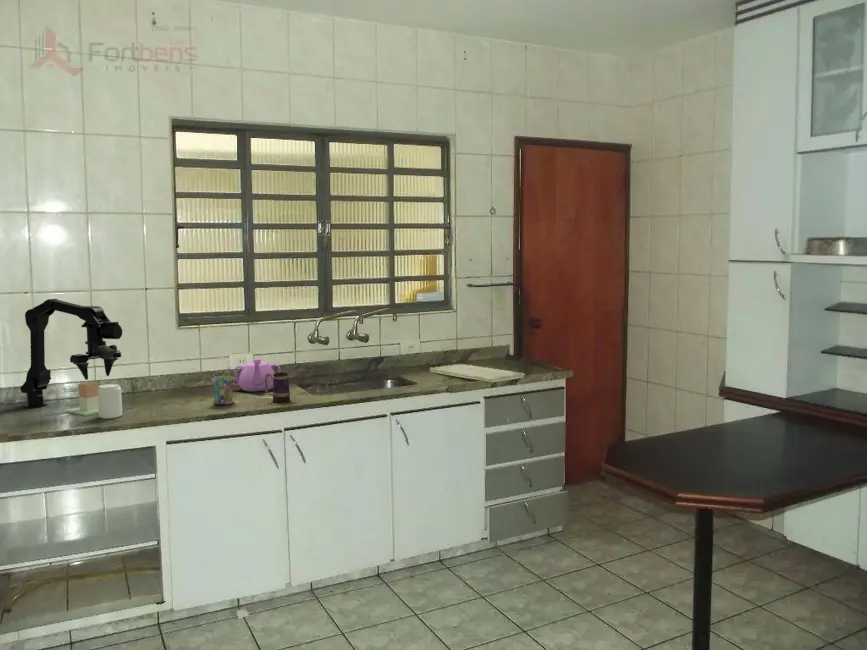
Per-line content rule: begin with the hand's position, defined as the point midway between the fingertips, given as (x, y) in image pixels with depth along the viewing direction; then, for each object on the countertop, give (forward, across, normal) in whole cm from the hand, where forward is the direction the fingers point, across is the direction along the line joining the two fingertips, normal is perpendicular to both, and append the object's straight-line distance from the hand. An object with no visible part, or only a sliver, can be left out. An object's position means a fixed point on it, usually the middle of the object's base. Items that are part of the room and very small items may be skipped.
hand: (97, 377), depth 289 cm
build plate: (+12, -4, 0) cm, 13 cm away
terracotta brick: (+7, -4, 0) cm, 8 cm away
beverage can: (+13, -6, -16) cm, 21 cm away
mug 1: (+13, +31, -37) cm, 50 cm away
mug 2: (+13, +46, -52) cm, 71 cm away
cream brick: (+12, -4, 0) cm, 12 cm away
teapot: (+13, +59, -28) cm, 67 cm away
